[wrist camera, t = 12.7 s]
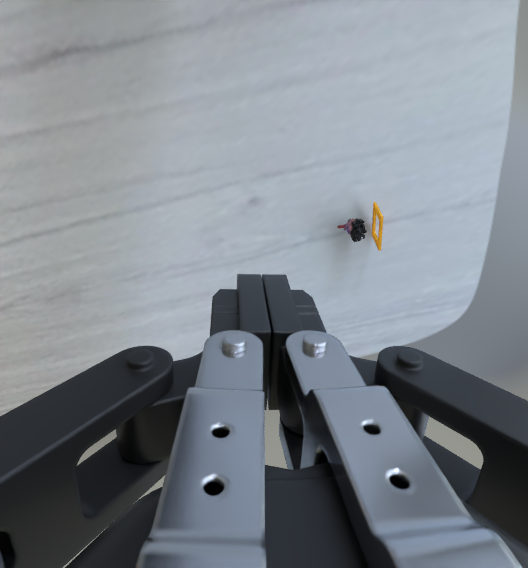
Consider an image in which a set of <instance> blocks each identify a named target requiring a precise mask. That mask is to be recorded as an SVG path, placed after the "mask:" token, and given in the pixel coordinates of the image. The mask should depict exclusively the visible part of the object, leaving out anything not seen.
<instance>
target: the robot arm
mask: <svg viewBox="0 0 528 568" xmlns="http://www.w3.org/2000/svg"><path fill="white" fill-rule="evenodd" d="M267 399H268V406H269V410H279V411H280V424H279V436H280V440H281V444H282V447H283V452H284V456H285V460H286V464H287V468H288V469H284V468H279V467H273V466H268V465H265V454H264V453H265V451H264V450H265V445H264V444H265V443H264V440H265V439H264V438H265V437H264V410H266V406H267ZM429 416H430V417H432V418H433V419H435V420H437V421H439V422H440V423H442V424H444V425H446V426H447V427H449V428H451V429H452V430H454V431H456V432H458V433H460V434H461V435H463V436H465V437H466V438H468V439H470V440H471V441H473V442H474V443H475V444H476V445H477V446H478V447H479V449H480V450H481V452H482V455H483V458H484V459H483V460H484V462H483V465H482V469H481V470H480V469H478V468H477V467H475V466H473V465H472V464H470V463H468V462H467V461H465V460H463V459H462V458H460V457H459V456H457V455H455V454H454V453H452V452H450V451H449V450H447V449H445V448H444V447H442V446H441V445H439V444H437V443H436V442H434V441H432V440H431V439H429V438H427V437H426V436H424V433H425V429H426V426H427V422H428V418H429ZM115 429H116V433H117V437H116V438H115V439H114V440H112V441H111V442H110V443H108V444H107V445H105V446H104V447H102V448H101V449H100V450H98V451H97V452H96V453H94V454H93V455H91V456H90V457H89V458H87V459H86V460H84V461H83V462H82V463H80V464H79V465H78V466H77V463H78V461H79V459H80V457H81V456H82V454H83V453H84V452H85V451H86V450H87V449H88V448H89V447H91V446H92V445H93V444H95V443H96V442H98V441H99V440H100V439H102V438H103V437H105V436H106V435H108V434H109V433H110V432H112V431H113V430H115ZM165 474H166V475H165ZM164 475H165V479H164V483H163V487H161V488H159V489H157V490H154V491H152V492H151V493H149V494H147V495H146V496H144V497H142V498H141V499H139V498H140V497H141V496H142V495H143V494H144V493H145V492H147V491H148V490H149V489H150V488H151V487H152V486H153V485H154V484H155V483H156V482H158V481H159V480H160V479H161V478H162V477H163V476H164ZM138 499H139V500H138ZM137 500H138V501H137ZM135 501H137V502H135ZM134 502H135V503H134ZM133 503H134V504H133ZM132 504H133V505H132ZM114 520H115V521H114ZM113 521H114V522H113ZM104 529H105V530H104ZM103 530H104V531H103ZM102 531H103V532H102ZM101 532H102V533H101ZM100 533H101V534H100ZM99 534H100V535H99ZM98 535H99V536H98ZM96 536H98V537H97V538H96ZM94 538H96V539H95V540H94V541H93V542H92V543H91V544H89V543H90V542H91V541H92V540H93V539H94ZM88 544H89V545H88ZM87 545H88V546H87ZM85 546H87V548H85V549H84V550H83V551H82V552H81V553H80V554H79V555H78V556H77V557H76V558H75V559H74V560H73V561H72V562H71V563H70V564H69V565H67V566H66V567H65V568H528V401H526V400H525V399H522V398H520V397H518V396H516V395H514V394H512V393H510V392H508V391H505V390H503V389H501V388H499V387H497V386H495V385H493V384H491V383H488V382H486V381H484V380H482V379H480V378H478V377H476V376H474V375H471V374H469V373H467V372H465V371H463V370H461V369H459V368H457V367H455V366H452V365H450V364H448V363H446V362H444V361H442V360H440V359H438V358H435V357H433V356H431V355H429V354H427V353H425V352H423V351H420V350H417V349H414V348H410V347H404V346H393V347H388V348H385V349H383V350H382V351H380V353H379V355H378V360H377V362H376V361H371V360H365V359H360V358H356V357H352V356H349V355H348V353H347V352H346V350H345V348H344V347H343V345H342V343H341V342H340V341H339V340H338V339H337V338H335V337H334V336H332V335H330V334H327V332H326V330H325V328H324V325H323V323H322V320H321V318H320V315H319V313H318V310H317V308H316V306H315V303H314V301H313V298H312V297H311V296H310V295H308V294H307V293H306V292H304V291H303V290H291V289H290V286H289V283H288V280H287V277H286V275H265V274H263V275H262V278H261V275H260V274H237V289H220V290H219V291H218V292H217V293H216V294H215V295H214V296H213V300H212V314H211V327H210V337H209V338H208V339H207V340H206V342H205V345H204V349H203V351H202V352H201V353H199V354H198V355H196V356H193V357H190V358H187V359H183V360H178V361H173V358H172V356H171V354H170V353H169V352H168V351H166V350H164V349H162V348H159V347H154V346H138V347H133V348H129V349H126V350H123V351H121V352H119V353H117V354H115V355H113V356H112V357H110V358H108V359H106V360H104V361H102V362H100V363H99V364H97V365H95V366H93V367H91V368H89V369H87V370H86V371H84V372H82V373H80V374H78V375H76V376H74V377H73V378H71V379H69V380H67V381H65V382H63V383H62V384H60V385H58V386H56V387H54V388H52V389H50V390H49V391H47V392H45V393H43V394H41V395H39V396H37V397H36V398H34V399H32V400H30V401H28V402H26V403H24V404H23V405H21V406H19V407H17V408H15V409H13V410H11V411H10V412H8V413H6V414H4V415H2V416H0V568H62V567H63V566H64V565H66V564H67V563H68V562H69V561H70V560H71V559H72V558H73V557H74V556H76V555H77V554H78V553H79V552H80V551H81V550H82V549H83V548H84V547H85Z"/></svg>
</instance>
